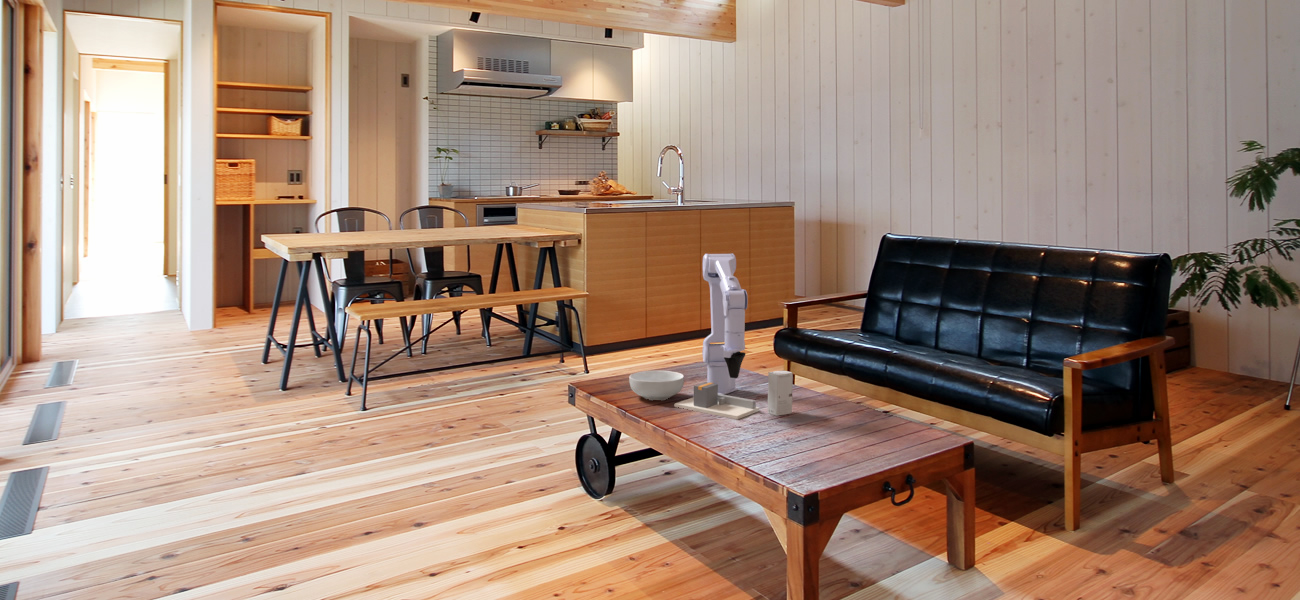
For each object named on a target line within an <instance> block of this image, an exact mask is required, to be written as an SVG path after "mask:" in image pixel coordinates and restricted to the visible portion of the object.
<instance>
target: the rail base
mask: <svg viewBox="0 0 1300 600" xmlns="http://www.w3.org/2000/svg"><path fill="white" fill-rule="evenodd" d="M756 402H757V400H755V399H749V398H743V397H738V396H732V395H727V394H725V395H723V394H718V404H716V405H714V406H711V407H708V408H703V407H698V406H694V396H693V397H690V398H688V399H687V398H686V399H684V400H681V401H679V402H676V403H674V407H675V408H678V407H679V408H678V409H683V408H684V410H687V409H688V410H689V411H692V410H693V412H698V413H702V414H703V413H704V414H709V415H711V416H712V415H713V416H717V417H723V418H727V419H733V420H739V419H742V418H744V417H746V416H749V415H752V414H754V413H757V412H759V411H760V407H759V406H756V405H757V403H756Z"/></svg>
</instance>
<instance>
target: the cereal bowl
mask: <svg viewBox="0 0 1300 600" xmlns="http://www.w3.org/2000/svg"><path fill="white" fill-rule="evenodd" d="M628 379H629V380H628V381H629V385H630V389H631V390H632V391H633V392H634V393H635V394H636V395H637V396H641V397H642V398H643V399H645V400H647V399H649V400H648V401H653V400H661V401H665V400H666V399H667V400H669V399H670V398H671V397H673V396H676V395H677V394H679V393H680V392H681V391H682V389H683V388H684V385H685V384H684V383H685V376H684V374H683V373H680V372H677V371H670V370H642V371H639V372H638V371H637V372H634V373H631V374H630V375H629V377H628ZM668 398H669V399H668Z"/></svg>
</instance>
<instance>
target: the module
mask: <svg viewBox="0 0 1300 600" xmlns="http://www.w3.org/2000/svg"><path fill="white" fill-rule="evenodd" d="M693 397H694V406H698V407H703V408H708V407H711V406H714V405H716V404H718V384H713V383H708V382H707V381H705V382H702V383H699V384H696V385H693Z"/></svg>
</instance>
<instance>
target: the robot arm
mask: <svg viewBox="0 0 1300 600" xmlns="http://www.w3.org/2000/svg"><path fill="white" fill-rule="evenodd" d="M736 269H737V258H736V255H735V254H734V253H704V255H703V256H702V277H703V280H704V281H706V282H708V286H709V294H710V295H709V296H710V297H709V299H710V326H711V331H710V334H708V335H707V336H706V337H705V338H704V339H703V342H702V360H703V363H704V364H706V365H707V366H706V367H707V369H706V370H707V374H706V375H707V376H706V380H707V381H706V382H708V383H713V384H718V394H723V395H727V394H730V393H733V392H736V391H738V390H739V389H738V388H737V387H736V381H737V380H736V379H737V378H739V375H740V370H741V368H742V367H741V366H742V363H743V361H744V358H745V357H746V352H745V350H746V342H745V329H746V328H745V327H746V326H745V325H746V324H745V323H746V321H745V320H746V311H747V309H748V303H749V302H748V301H749V299H748V293H747V290H746V289H743V288H742V287H741V284H740V282H739V279H738V278H737V277H736V276H734V274H735V272H736ZM743 351H744V352H743Z"/></svg>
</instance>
